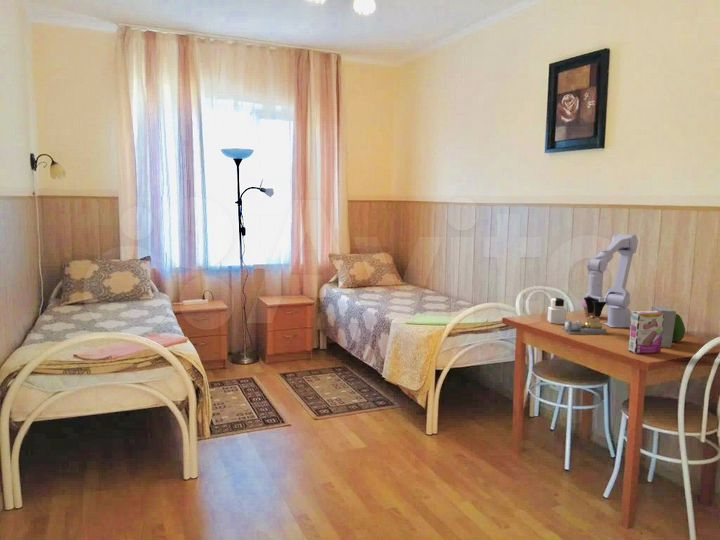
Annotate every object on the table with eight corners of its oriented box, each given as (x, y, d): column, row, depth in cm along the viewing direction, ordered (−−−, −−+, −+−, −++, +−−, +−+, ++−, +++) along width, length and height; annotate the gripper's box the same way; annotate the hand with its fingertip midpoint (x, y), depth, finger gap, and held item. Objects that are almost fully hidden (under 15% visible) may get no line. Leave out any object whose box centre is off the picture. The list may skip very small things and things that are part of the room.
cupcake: (600, 319, 276) (602, 299, 275) (582, 318, 278) (583, 299, 277) (597, 315, 285) (598, 296, 284) (579, 314, 287) (580, 296, 286)
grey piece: (597, 329, 255) (598, 318, 254) (607, 334, 245) (607, 323, 244) (561, 329, 255) (562, 318, 254) (569, 334, 245) (570, 323, 245)
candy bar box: (635, 354, 214) (638, 313, 212) (627, 350, 219) (630, 310, 217) (661, 353, 216) (664, 312, 214) (653, 349, 221) (656, 310, 218)
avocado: (672, 338, 239) (674, 311, 237) (688, 342, 232) (690, 315, 230) (658, 339, 236) (660, 312, 235) (674, 344, 229) (676, 316, 227)
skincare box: (646, 342, 232) (649, 305, 230) (663, 342, 232) (666, 305, 230) (656, 347, 224) (659, 309, 222) (674, 347, 224) (677, 310, 222)
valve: (598, 329, 252) (599, 315, 251) (602, 331, 248) (603, 317, 247) (583, 329, 252) (584, 315, 251) (587, 331, 248) (587, 316, 247)
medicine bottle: (561, 320, 272) (563, 297, 271) (565, 324, 265) (567, 300, 264) (547, 320, 273) (548, 297, 271) (550, 323, 266) (551, 299, 264)
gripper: (580, 282, 254) (579, 311, 256) (593, 287, 240) (591, 318, 242) (595, 282, 254) (594, 311, 256) (609, 287, 240) (607, 318, 242)
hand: (593, 314), depth 249 cm, fingers open, 7 cm apart
